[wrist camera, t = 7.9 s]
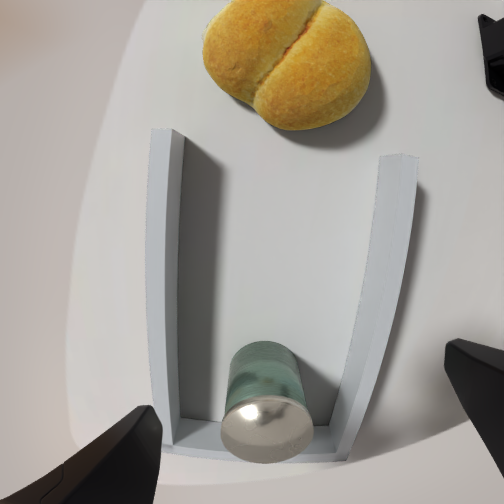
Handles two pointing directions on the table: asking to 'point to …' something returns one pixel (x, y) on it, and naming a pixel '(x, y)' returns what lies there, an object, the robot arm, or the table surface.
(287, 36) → the bread roll
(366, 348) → the u-shaped frame
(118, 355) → the table surface
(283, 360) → the tea tin
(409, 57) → the table surface
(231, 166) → the table surface
